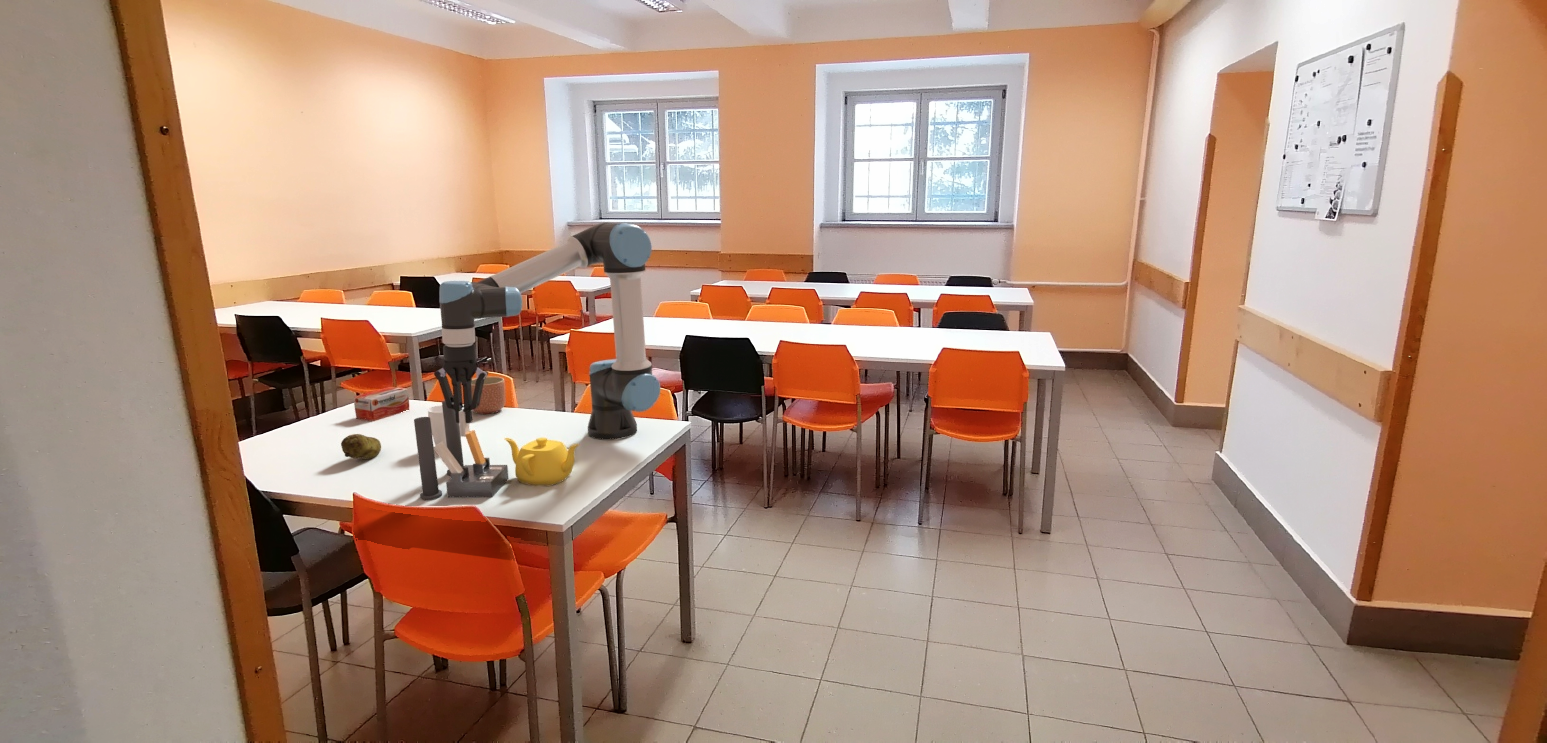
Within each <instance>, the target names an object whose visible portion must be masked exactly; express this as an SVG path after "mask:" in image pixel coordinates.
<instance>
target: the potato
mask: <svg viewBox="0 0 1547 743" xmlns="http://www.w3.org/2000/svg"><path fill="white" fill-rule="evenodd" d="M340 445H341V446H340V447H341V450H342V452H343V453H344V457H345V458H353V459H362V460H363V459H364V460H365V459H366V460H368V459H373V458H375V457H376V456H378V455H379V454H380V453H381V449H382V444H381V441H380V439H377V438H376V437H371V436H366V435H364V434H360V433H353V434H349V435H348V436H345V437H344V438H343V439H342V440H341V443H340Z"/></svg>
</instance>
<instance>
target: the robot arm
mask: <svg viewBox="0 0 1547 743" xmlns="http://www.w3.org/2000/svg"><path fill="white" fill-rule="evenodd" d="M652 247H653V246H652V241H651V238H650V236H649V235H648V233H647V232H646V231H645V230H644V229H643V228H642V227H640V226H639V225H636V224H633V223H629V222H627V223H626V222H602V223H598V224H595V225H593V226H590V227H588V228H586V229H584V230H582V231H580V232H578V233H575V234H574V235H571V236H570V237H568V238H567V240H566V242H565V243H563V244H560V245H558V246H555V247H553V248H550V249H548V250H546V251H544V252H542V253H540V254H538V255H535V256H532V257H530V258H529V259H526V260H524V261H521V262H519V263H517V264H515V265H513V266H511V267H508V268H506V269H503V270H501V271H499V272H497V273H494V274H493V275H491V276H488V277H486V278H483V279H481V280H478V281H468V280H448V281H444V282H442V283H440V284H439V299H438V300H439V301H438V302H439V309H440V317H441V318H440V319H441V320H440V321H441V335H442V336H441V338H442V341H441V342H442V344H444V345H443V346H442V349H443V350H442V351H443V361H444V362H443V364H442V368H440V369H437V370H436V371H434V372H433V375H434V377H435V378H436V380H437V381H438V384H439V387H440V390H441V392H442V396H443V398H444V400H445V402H446V405H447V408H449V409H450V408H451V409H454V410H455V416H456V422H457V423H460V436H461V438H463V437H464V438H466V436H465V434H467V433H468V432H469V431H471V430H470V429H471V428H470V423H472V422H473V410H472V409H475V408H477V407H478V406H479V404H480V399H481V394H482V389H483V384H484V380H485V378H486V377H488V375H489V372H488V370H483V369H481V368H480V367H479V364H478V361H477V346H476V344H474V343H475V342H476V330H475V320H476V319H477V320H479V319H489V318H490V319H491V318H492V319H493V318H504V317H505V318H509V317H514V316H515V317H516V316H519V314H521V312H522V309H523V297H522V293H525V292H527V291H529V290H532V289H533V288H536V287H538V286H541V285H542V284H544V283H547V282H549V281H551V280H553V279H555V278H557V277H559V276H562V275H563V274H566V273H568V272H571V271H572V270H575V269H577V268H582V269H585V268H588V267H590V266H592V265H597V264H603V273H604V274H605V276H607V277H608V278H609V281H610V296H611V307H612V320H613V335H614V345H615V346H614V347H615V348H614V349H615V358H613V359H605V360H599V361H595V362H594V361H593V362H592V363H591V364H590V365H589V374H588V376H589V383H590V384H589V385H590V397H591V398H590V399H591V400H590V401H591V413H590V417H589V421H588V424H587V435H588V436H589V437H590V438H592V439H596V440H604V441H605V440H606V441H607V440H617V439H623V438H629V437H631V436H633V435H635V434H636V433H637V432H638V424H637V421H636V418H635V416H634V413H633V412H636V413H638V412H639V413H640V412H641V413H642V412H645V411H647V410H649V409H651V408H652V407H653V406H654V405H655V404H656V402H657V401H658V399H659V398H660V396H661V384H660V381H659V380H658V379H657V377H656V376H655V375H653V366H652V364H653V363H652V362H651V361H650V360H648V359H647V355H646V354H647V352H646V340H645V338H646V336H645V324H644V322H645V321H644V310H643V294H642V276H643V274H645V272H646V270H647V269H646V264H647V262H648V261H649V259H650V257H651V255H652V250H653V249H652ZM447 375H448V377H449V378H450V379H451V380H450V381H451V386H452V388H451V386H450V382H449V379H448V377H447ZM474 376H475V377H476V378H477V380H476V384H475V389H474V394H473V399H472V390H471V382H472V379H473V378H474Z"/></svg>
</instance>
